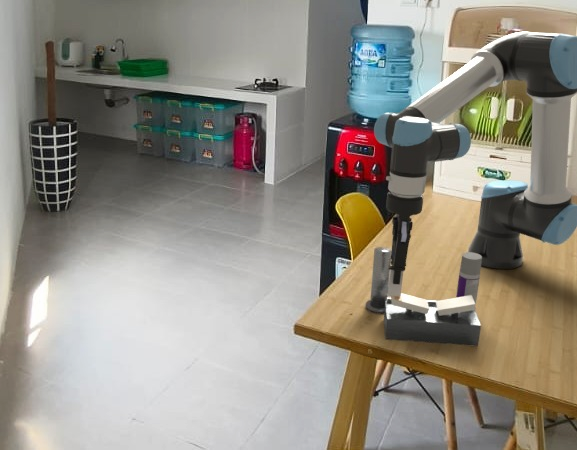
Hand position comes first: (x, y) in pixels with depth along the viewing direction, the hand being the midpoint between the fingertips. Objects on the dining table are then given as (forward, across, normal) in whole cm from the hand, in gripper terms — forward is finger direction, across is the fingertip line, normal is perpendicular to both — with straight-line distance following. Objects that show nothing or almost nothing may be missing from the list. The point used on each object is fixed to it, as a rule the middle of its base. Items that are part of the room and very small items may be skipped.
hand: (394, 294), depth 141 cm
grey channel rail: (+9, 0, +9) cm, 12 cm away
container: (+9, -11, +18) cm, 23 cm away
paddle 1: (+2, 0, +4) cm, 4 cm away
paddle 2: (+1, 0, +14) cm, 14 cm away
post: (+9, -11, -2) cm, 14 cm away
